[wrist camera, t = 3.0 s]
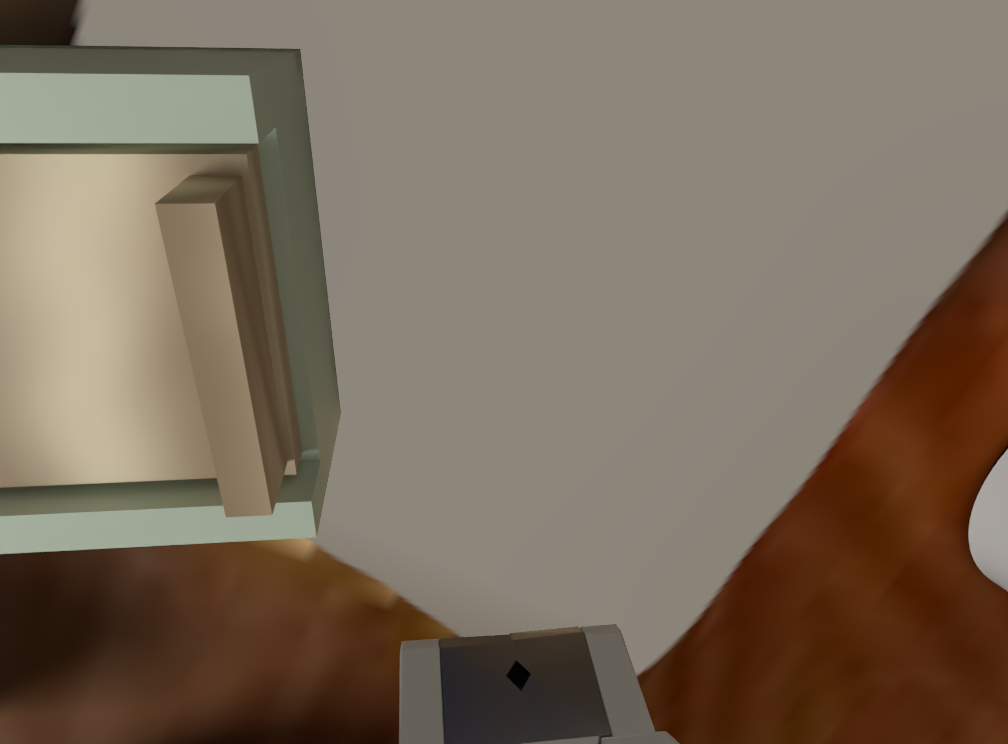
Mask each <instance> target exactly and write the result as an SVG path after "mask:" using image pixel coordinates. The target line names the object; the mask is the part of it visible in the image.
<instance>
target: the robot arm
mask: <svg viewBox="0 0 1008 744" xmlns="http://www.w3.org/2000/svg"><path fill="white" fill-rule="evenodd" d="M968 536H969V546H970V551H971V554H972V557H973V559H974V561H975V563H976V565H977V566H978V568H979V569H980V570H981V571H982V573H983V574H984V575H985V576H987V577H988V578H989V579H990V580H992V581H993V582H995V583H996V584H998V585H999V586H1001V587H1002V588H1004V589H1005V590H1006V591H1008V449H1007V450H1006V452H1005V453H1004V454H1003V455H1002V457H1001V458H1000V459H999V460H998V462H997V463H996V465H995V466H994V467H993V469H992V470H991V472H990V473H989V475H988V477H987V478H986V480H985V482H984V484H983V485H982V487H981V489H980V491H979V493H978V496H977V498H976V501H975V503H974V506H973V509H972V513H971V517H970V522H969V533H968ZM439 643H440V651H439ZM399 744H679V743H678V742H677V741H676V740H675V739H674V738H673V737H672V736H671V735H670V734H668V733H667V732H666V731H664V732H655V730H654V727H653V724H652V721H651V718H650V715H649V712H648V709H647V707H646V704H645V701H644V698H643V695H642V692H641V689H640V686H639V683H638V680H637V677H636V674H635V671H634V668H633V665H632V662H631V659H630V657H629V654H628V651H627V648H626V645H625V642H624V639H623V636H622V633H621V630H620V629H619V628H618V627H617V625H616V624H612V625H600V626H589V627H580V628H579V627H569V628H558V629H548V630H538V631H528V632H518V633H510V634H509V635H495V636H479V637H478V636H477V637H460V638H442V639H440V641H439V640H438V639H430V640H416V641H402V644H401V650H400V704H399Z"/></svg>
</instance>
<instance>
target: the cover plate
mask: <svg viewBox="0 0 1008 744" xmlns="http://www.w3.org/2000/svg"><path fill="white" fill-rule="evenodd" d="M302 452H303V450H302V443H301V436H300V430H299V423H298V416H297V409H296V402H295V396H294V389H293V382H292V375H291V369H290V362H289V355H288V348H287V342H286V335H285V328H284V321H283V314H282V308H281V301H280V294H279V287H278V281H277V274H276V267H275V260H274V254H273V247H272V240H271V233H270V226H269V220H268V213H267V206H266V199H265V193H264V186H263V179H262V172H261V166H260V159H259V152H258V145H257V144H0V488H4V487H27V486H49V485H72V484H95V483H117V482H140V481H163V480H185V479H208V478H217V481H218V485H219V489H220V494H221V498H222V503H223V507H224V511H225V516H226V517H245V516H265V515H272V514H273V511H274V507H275V504H276V500H277V497H278V493H279V490H280V486H281V483H282V479H283V476H284V475H297V471H298V467H299V464H300V460H301V456H302Z"/></svg>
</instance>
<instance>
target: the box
mask: <svg viewBox="0 0 1008 744" xmlns="http://www.w3.org/2000/svg"><path fill="white" fill-rule="evenodd" d="M0 144H257V145H258V152H259V159H260V166H261V172H262V179H263V186H264V193H265V199H266V206H267V213H268V220H269V226H270V233H271V240H272V247H273V254H274V260H275V267H276V274H277V281H278V287H279V294H280V301H281V308H282V314H283V321H284V328H285V335H286V342H287V348H288V355H289V362H290V369H291V375H292V382H293V389H294V396H295V402H296V409H297V416H298V423H299V430H300V436H301V443H302V450H303V452H302V456H301V460H300V464H299V467H298V471H297V475H284V476H283V479H282V483H281V486H280V490H279V493H278V497H277V500H276V504H275V507H274V511H273V514H272V515H265V516H245V517H226V516H225V511H224V507H223V503H222V498H221V494H220V489H219V485H218V481H217V478H208V479H185V480H163V481H140V482H117V483H95V484H72V485H49V486H27V487H4V488H0V554H11V553H30V552H49V551H68V550H87V549H106V548H125V547H144V546H162V545H181V544H200V543H219V542H238V541H257V540H276V539H294V538H313V537H317V532H318V528H319V522H320V517H321V512H322V507H323V502H324V497H325V492H326V487H327V481H328V476H329V471H330V466H331V461H332V456H333V450H334V445H335V440H336V435H337V430H338V425H339V420H340V414H341V412H340V403H339V394H338V386H337V376H336V368H335V358H334V351H333V340H332V331H331V322H330V313H329V304H328V295H327V286H326V277H325V269H324V260H323V251H322V241H321V234H320V223H319V215H318V206H317V197H316V188H315V179H314V170H313V161H312V152H311V144H310V134H309V125H308V116H307V107H306V98H305V90H304V80H303V71H302V62H301V53H300V49H263V48H262V49H260V48H259V49H258V48H195V47H194V48H193V47H127V46H126V47H124V46H121V47H120V46H59V45H0Z"/></svg>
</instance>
